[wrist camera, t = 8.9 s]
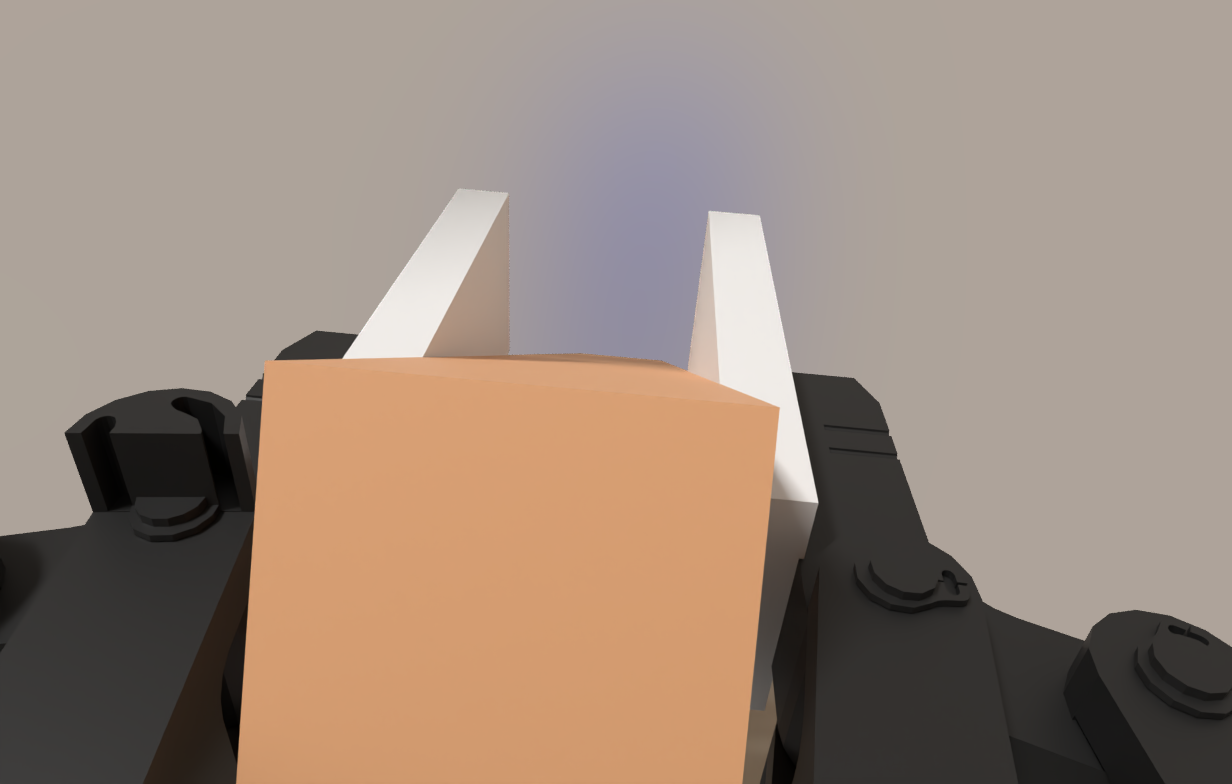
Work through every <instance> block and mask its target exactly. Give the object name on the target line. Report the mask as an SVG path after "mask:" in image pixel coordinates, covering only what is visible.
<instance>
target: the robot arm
mask: <svg viewBox="0 0 1232 784" xmlns="http://www.w3.org/2000/svg"><path fill="white" fill-rule="evenodd" d="M508 353H509V193H503V192H492V191H479V190H469V189H458V190H457V192H456V193H455V195H454V196H453V198H452V199H451V201H450V202H449V203H448V205H447V206H446V208H445V209H444V211H443V212H442V214H441V215H440V217H439V218H438V220H437V221H436V223H435V224H434V226H433V227H432V228H431V230H430V231H429V233H428V234H427V236H426V237H425V239H424V240H423V241H422V243H421V244H420V246H419V247H418V249H417V250H416V252H415V253H414V255H413V256H412V258H411V259H410V261H409V262H408V263H407V265H406V266H405V268H404V269H403V271H402V272H401V274H400V275H399V277H398V278H397V279H396V281H395V282H394V284H393V285H392V287H391V288H390V290H389V291H388V293H387V294H386V296H385V297H384V299H383V300H382V301H381V303H380V304H379V306H378V307H377V309H376V310H375V312H374V313H373V315H372V316H371V317H370V319H369V320H368V322H367V323H366V325H365V326H364V328H363V329H362V331H361V332H360V334H359V335H356V334H345V333H335V332H324V331H315V332H313V333H311V334H310V335H308V336H306V337H304V338H303V339H301V340H299V341H298V342H296V343H294V344H292V345H291V346H289V347H287V348H285V349H284V350H282V351H281V353H280V354H279V355H278V356H277V358H276V359H275V360H316V359H360V358H403V357H455V356H496V355H508ZM688 372H691V373H693V374H696V375H698V376H701V377H703V378H706V379H708V380H711V381H713V382H716V383H718V384H722V385H724V386H727V387H729V388H732V389H734V390H737V391H739V392H742V393H744V394H747V395H749V396H752V397H755V398H757V399H760V400H762V401H765V402H767V403H770V404H772V405H775V406H777V407H780V411H779V421H778V431H777V441H776V451H775V461H774V471H773V481H772V491H771V501H770V511H769V521H768V531H767V541H766V551H765V561H764V571H763V581H762V591H761V601H760V611H759V622H758V632H757V642H756V652H755V662H754V672H753V682H752V692H751V702H750V709H751V710H760V711H765V707H766V703H767V699H768V695H769V691H770V687H771V684H772V680H773V686H774V696H775V705H776V715H777V722H776V726H775V729H774V733H773V737H772V740H771V744H770V748H769V751H768V755H767V758H766V762H765V766H764V769H763V773H762V777H761V780H760V784H1232V647H1230V646H1229V645H1227V644H1226V643H1224V642H1223V641H1221V640H1220V639H1218V638H1217V637H1215V636H1213V635H1212V634H1210V633H1209V632H1207V631H1206V630H1203V629H1201V628H1199V627H1196V626H1194V625H1191V624H1189V623H1186V622H1184V621H1181V620H1179V619H1176V618H1174V617H1172V616H1168V615H1163V614H1157V613H1151V612H1145V611H1139V610H1133V611H1125V612H1118V613H1111V614H1108V615H1107V616H1106V617H1105V618H1103V619H1102V620H1101V621H1099V622H1098V623H1097V624H1095V625H1094V626H1093V627H1092V629H1091V631H1090V633H1089V634H1088V636H1087V638H1086V640H1085V641H1083V640H1080V639H1077V638H1074V637H1071V636H1068V635H1065V634H1062V633H1060V632H1057V631H1054V630H1051V629H1048V628H1045V627H1042V626H1039V625H1036V624H1033V623H1030V622H1027V621H1024V620H1021V619H1018V618H1016V617H1013V616H1011V615H1009V614H1006V613H1003V612H1001V611H999V610H997V609H994V608H992V607H991V606H989V605H987V604H986V603H984V602H982V599H981V597H980V594H979V592H978V590H977V588H976V585H975V583H974V581H973V579H972V577H971V576H970V575H969V574H968V573H967V572H966V571H965V570H964V569H963V568H962V567H961V565H960V564H959V563H958V562H956V560H955V559H954V558H952V556H950V555H949V554H947V553H945V552H944V551H942V550H940V549H939V548H937V547H935V546H934V545H932V544H930V543H929V542H928V539H927V536H926V533H925V531H924V528H923V525H922V522H921V520H920V516H919V514H918V511H917V508H916V505H915V503H914V499H913V497H912V494H911V491H910V488H909V485H908V483H907V480H906V477H905V474H904V471H903V468H902V465H901V463H900V460H898V459H897V451H896V449H895V446H894V443H893V440H892V437H891V436H889V429H888V426H887V423H886V420H885V418H884V415H883V412H882V409H881V406H880V404H879V402H878V401H877V400H876V399H874V397H873V396H872V395H871V394H869V393H868V391H866V390H865V389H864V388H863V387H862V386H861V385H860V384H859V383H858V382H857V381H856V380H855V379H854V378H847V377H836V376H826V375H815V374H803V373H794V372H792V371H791V366H790V361H789V357H788V352H787V347H786V342H785V337H784V332H783V327H782V323H781V317H780V313H779V308H778V304H777V298H776V293H775V288H774V283H773V278H772V274H771V269H770V264H769V259H768V254H767V249H766V244H765V239H764V234H763V230H762V225H761V220H760V216H759V215H749V214H737V213H726V212H714V211H709V213H708V220H707V229H706V236H705V244H704V250H703V258H702V266H701V273H700V282H699V288H698V297H697V303H696V311H695V318H694V326H693V334H692V341H691V348H690V356H689V363H688ZM263 384H264V373H263V378H262V380H261V379H259V380H258V381H257V382H256V383H255V385H254V386H253V387H252V388H251V389H250V391H249V392H248V393H247V394H246V400H241V402H240V403H239V404H238V406H237V407H235V406H234V404H233V403H232V401H230V400H228V399H225V398H223V397H221V396H219V395H216V394H214V393H212V392H208V391H199V390H191V389H184V388H183V389H182V388H180V389H168V390H156V391H148V392H144V393H140V394H136V395H133V396H129V397H125V398H122V399H118V400H115V401H113V402H111V403H109V404H107V405H104V406H102V407H100V408H98V409H96V410H94V411H92V412H90V413H88V414H86V415H85V416H83V417H82V418H81V419H80V420H79V421H78V422H77V423H75V424H74V425H73V426H72V427H71V428H70V429H68V430H67V431H66V432H65V436H66V439H67V441H68V444H69V447H70V450H71V453H72V455H73V458H74V461H75V464H76V466H77V469H78V472H79V475H80V477H81V480H82V483H83V486H84V488H85V491H86V494H87V497H88V499H89V502H90V505H91V508H92V511H93V513H92V515H91V516H90V518H89V519H88V521H87V522H86V524H85V525H82V526H77V527H71V528H64V529H56V530H48V531H39V532H31V533H23V534H15V535H7V536H0V784H236V779H237V764H238V750H239V735H240V720H241V706H242V691H243V676H244V662H245V647H246V633H247V618H248V603H249V589H250V574H251V559H252V545H253V530H254V515H255V501H256V486H257V472H258V457H259V442H260V428H261V413H262V398H263Z"/></svg>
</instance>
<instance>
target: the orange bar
mask: <svg viewBox="0 0 1232 784" xmlns="http://www.w3.org/2000/svg"><path fill="white" fill-rule="evenodd" d="M779 411H780V407H777V406H775V405H772V404H770V403H767V402H765V401H762V400H760V399H757V398H755V397H752V396H749V395H747V394H744V393H742V392H739V391H737V390H734V389H732V388H729V387H727V386H724V385H722V384H718V383H716V382H713V381H711V380H708V379H706V378H703V377H701V376H698V375H696V374H693V373H691V372H688V371H686V370H684V369H681V368H678V367H676V366H674V365H671V364H668V363H666V362H663V361H659V360H647V359H637V358H626V357H615V356H604V355H593V354H581V353H578V354H534V355H496V356H455V357H403V358H360V359H316V360H274V361H265V370H264V384H263V398H262V413H261V428H260V442H259V457H258V472H257V486H256V501H255V515H254V530H253V545H252V559H251V574H250V589H249V603H248V618H247V633H246V647H245V662H244V676H243V691H242V706H241V720H240V735H239V750H238V764H237V779H236V784H742V782H743V772H744V762H745V752H746V742H747V732H748V722H749V712H750V702H751V692H752V682H753V672H754V662H755V652H756V642H757V632H758V622H759V611H760V601H761V591H762V581H763V571H764V561H765V551H766V541H767V531H768V521H769V511H770V501H771V491H772V481H773V471H774V461H775V451H776V441H777V431H778V421H779Z"/></svg>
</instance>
